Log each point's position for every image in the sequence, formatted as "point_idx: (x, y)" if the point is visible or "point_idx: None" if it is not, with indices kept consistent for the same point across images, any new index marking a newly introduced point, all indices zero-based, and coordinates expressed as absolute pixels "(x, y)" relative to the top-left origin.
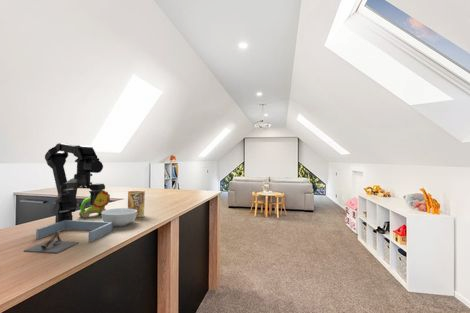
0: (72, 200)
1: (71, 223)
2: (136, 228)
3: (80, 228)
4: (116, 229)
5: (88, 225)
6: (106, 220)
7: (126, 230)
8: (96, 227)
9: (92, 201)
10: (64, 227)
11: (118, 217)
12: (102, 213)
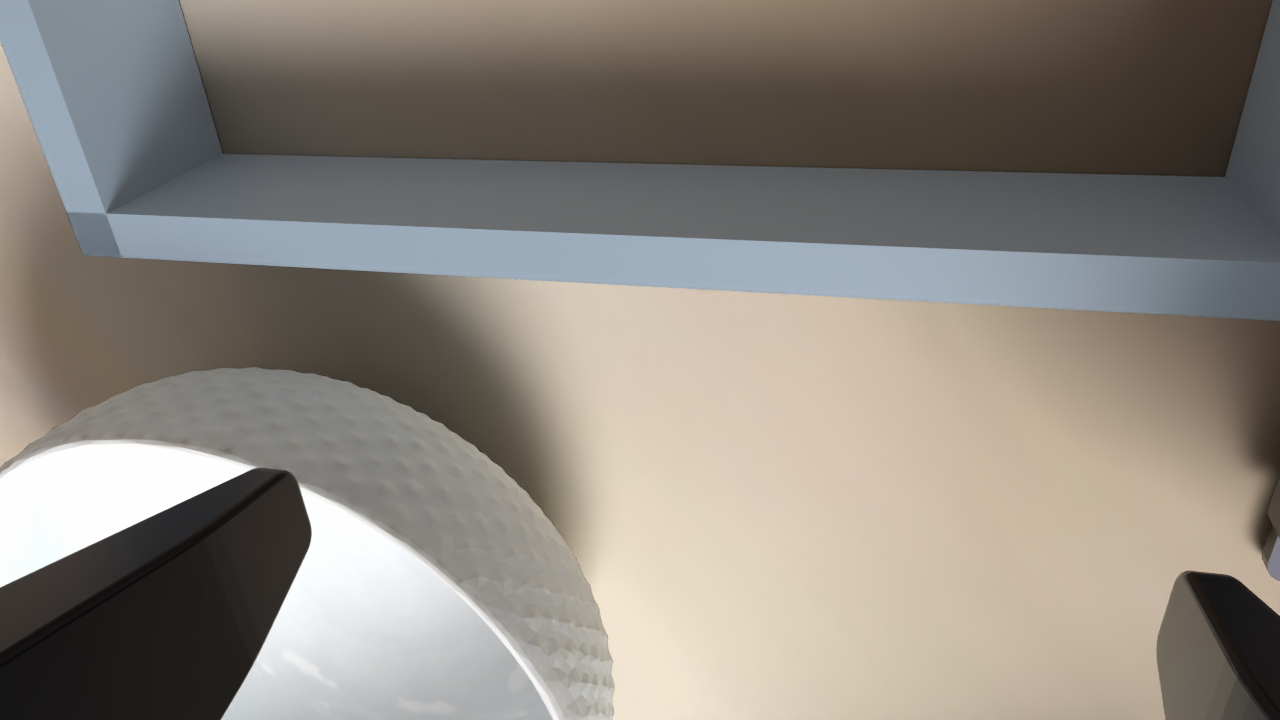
0: (1265, 710)
1: (1087, 226)
2: (3, 356)
3: (823, 176)
4: (211, 273)
5: (618, 200)
6: (337, 394)
7: (34, 239)
8: (447, 182)
9: (108, 560)
10: (1250, 152)
11: (66, 424)
12: (418, 550)
